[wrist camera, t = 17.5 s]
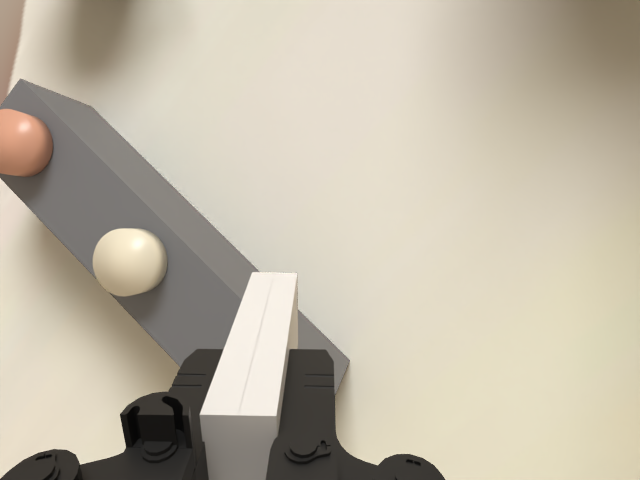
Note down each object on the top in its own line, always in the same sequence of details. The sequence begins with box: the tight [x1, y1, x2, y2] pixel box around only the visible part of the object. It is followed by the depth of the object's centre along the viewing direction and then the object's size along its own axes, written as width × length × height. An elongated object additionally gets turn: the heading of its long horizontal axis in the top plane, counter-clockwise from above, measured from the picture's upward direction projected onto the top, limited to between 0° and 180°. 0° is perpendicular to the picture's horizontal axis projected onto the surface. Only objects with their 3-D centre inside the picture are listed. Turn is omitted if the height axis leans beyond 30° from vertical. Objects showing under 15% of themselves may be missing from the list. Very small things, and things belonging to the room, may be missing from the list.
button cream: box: [93, 228, 168, 297], centre depth 34 cm, size 5×5×5 cm
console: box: [0, 79, 350, 394], centre depth 37 cm, size 34×7×8 cm, turn 47°
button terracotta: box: [0, 109, 53, 177], centre depth 35 cm, size 5×5×5 cm
